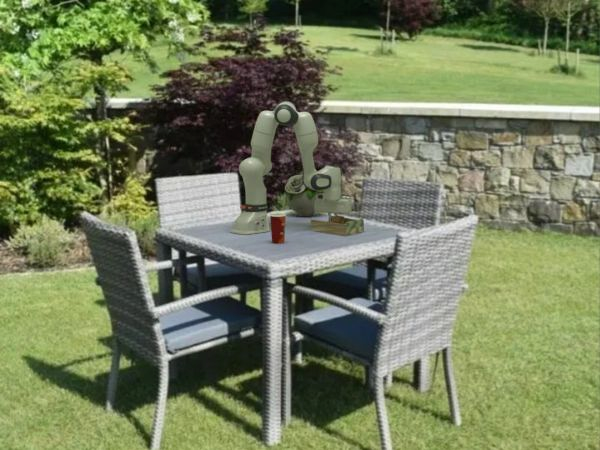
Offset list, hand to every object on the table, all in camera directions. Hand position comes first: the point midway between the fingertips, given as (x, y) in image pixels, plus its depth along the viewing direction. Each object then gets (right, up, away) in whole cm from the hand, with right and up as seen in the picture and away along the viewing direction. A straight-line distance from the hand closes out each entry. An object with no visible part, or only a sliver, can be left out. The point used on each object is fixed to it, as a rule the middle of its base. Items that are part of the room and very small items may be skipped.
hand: (332, 221), depth 407 cm
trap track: (+2, -5, -5) cm, 8 cm away
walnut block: (+3, -2, -3) cm, 5 cm away
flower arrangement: (-15, +3, +42) cm, 45 cm away
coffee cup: (-28, -11, -33) cm, 45 cm away
